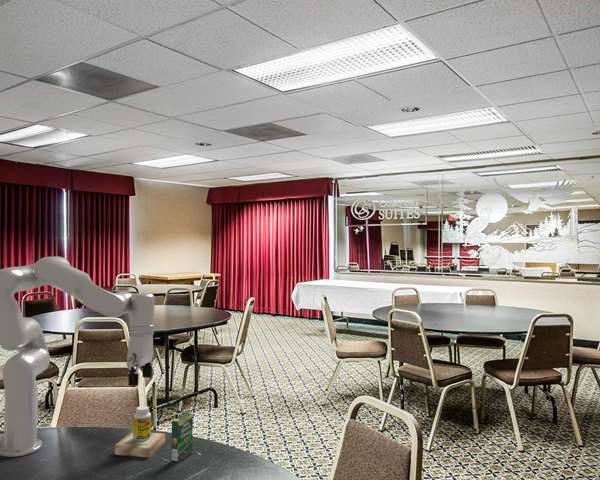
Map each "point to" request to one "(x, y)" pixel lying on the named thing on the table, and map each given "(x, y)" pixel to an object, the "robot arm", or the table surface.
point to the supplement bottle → (142, 424)
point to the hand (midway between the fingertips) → (140, 381)
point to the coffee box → (181, 437)
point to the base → (140, 445)
